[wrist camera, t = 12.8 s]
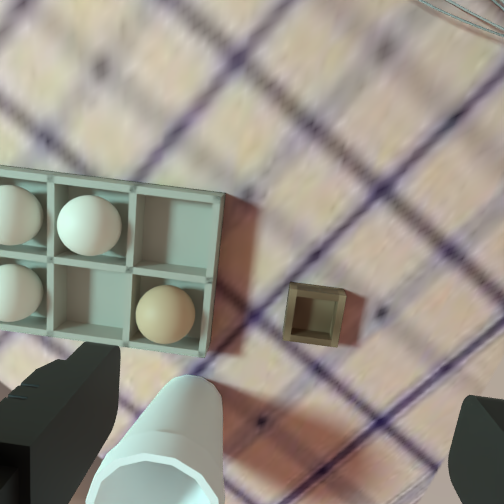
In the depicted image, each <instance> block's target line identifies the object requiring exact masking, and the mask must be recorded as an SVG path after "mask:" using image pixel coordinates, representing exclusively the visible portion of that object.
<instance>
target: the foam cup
mask: <svg viewBox="0 0 504 504" xmlns="http://www.w3.org/2000/svg"><path fill="white" fill-rule="evenodd" d="M224 503H225V490H224V481H223V406H222V397H221V395H220V393H219V392H218V390H217V389H216V387H215V386H214V384H212V383H211V382H209V381H207V380H206V379H204V378H203V377H199V376H193V375H184V376H180V377H176V378H173V379H172V380H171V381H170V382H169V383H167V384H166V385H165V386H164V387H163V388H162V389H161V390H160V392H159V393H158V394H157V396H156V397H155V398H154V399H153V401H152V402H151V403H150V404H149V406H148V407H147V408H146V409H145V411H144V412H143V413H142V414H141V416H140V417H139V418H138V419H137V421H136V422H135V423H134V425H133V426H132V427H131V428H130V430H129V431H128V432H127V433H126V435H125V436H124V437H123V438H122V440H121V441H120V442H119V443H118V445H116V446H115V447H114V448H113V449H112V450H111V451H109V452H108V453H107V455H106V456H105V458H104V460H103V462H102V463H101V465H100V467H99V469H98V471H97V472H96V474H95V476H94V478H93V481H92V484H91V487H90V490H89V492H88V495H87V498H86V504H224Z"/></svg>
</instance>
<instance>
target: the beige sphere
mask: <svg viewBox="0 0 504 504" xmlns="http://www.w3.org/2000/svg"><path fill="white" fill-rule="evenodd" d="M194 320H195V307H194V304H193V301H192V299H191V298H190V296H189V295H188V294H187V293H186V292H185V291H184V290H182V289H180V288H178V287H176V286H172V285H161V286H157V287H154V288H152V289H150V290H149V291H147V292H146V293H145V294H144V295H143V296H142V298H141V299H140V301H139V303H138V305H137V308H136V322H137V325H138V328H139V330H140V331H141V333H142V334H143V335H144V336H145V337H146V338H147V339H149V340H151V341H153V342H155V343H159V344H170V343H174V342H177V341H179V340H181V339H182V338H183V337H185V336H186V335H187V334H188V333H189V331H190V330H191V328H192V326H193V324H194Z"/></svg>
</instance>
